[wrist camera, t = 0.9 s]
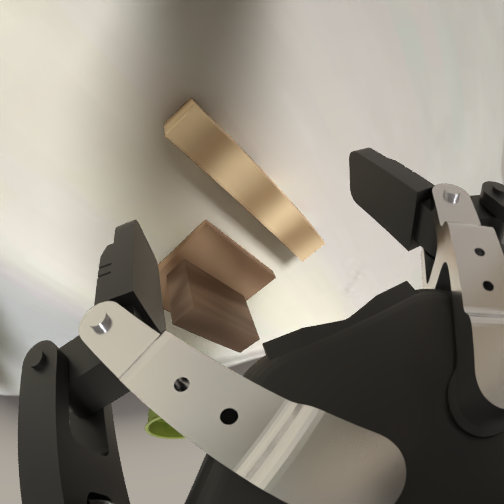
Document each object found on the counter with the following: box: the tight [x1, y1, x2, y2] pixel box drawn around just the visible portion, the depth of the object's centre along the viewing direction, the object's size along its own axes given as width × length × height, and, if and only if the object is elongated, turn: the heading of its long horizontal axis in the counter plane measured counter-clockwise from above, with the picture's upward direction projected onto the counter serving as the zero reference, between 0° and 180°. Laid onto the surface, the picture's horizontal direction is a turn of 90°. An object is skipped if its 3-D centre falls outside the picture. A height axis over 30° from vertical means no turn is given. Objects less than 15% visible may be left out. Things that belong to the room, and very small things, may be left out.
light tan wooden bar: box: [164, 98, 325, 261], centre depth 29 cm, size 20×3×4 cm, turn 39°
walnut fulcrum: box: [158, 220, 276, 352], centre depth 34 cm, size 12×12×8 cm
